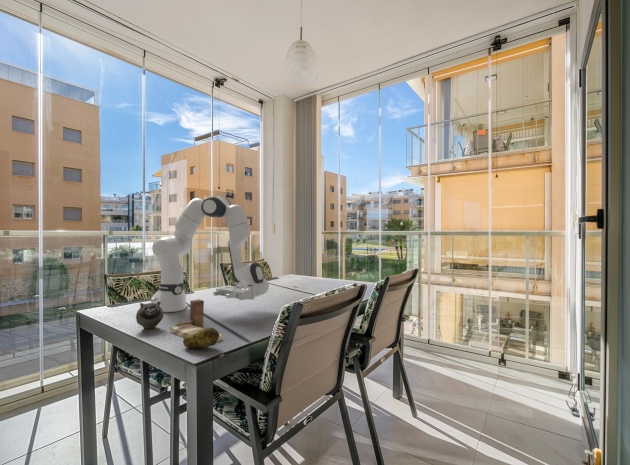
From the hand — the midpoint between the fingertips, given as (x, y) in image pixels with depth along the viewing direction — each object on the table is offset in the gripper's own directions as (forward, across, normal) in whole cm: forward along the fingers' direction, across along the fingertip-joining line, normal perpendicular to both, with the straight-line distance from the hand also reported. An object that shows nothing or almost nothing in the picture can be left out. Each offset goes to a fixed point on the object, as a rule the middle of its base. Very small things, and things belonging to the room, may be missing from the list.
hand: (220, 295), depth 151 cm
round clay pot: (+27, -13, +12) cm, 32 cm away
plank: (+19, +8, +13) cm, 24 cm away
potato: (+26, +22, +13) cm, 37 cm away
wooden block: (+16, -1, +13) cm, 20 cm away
